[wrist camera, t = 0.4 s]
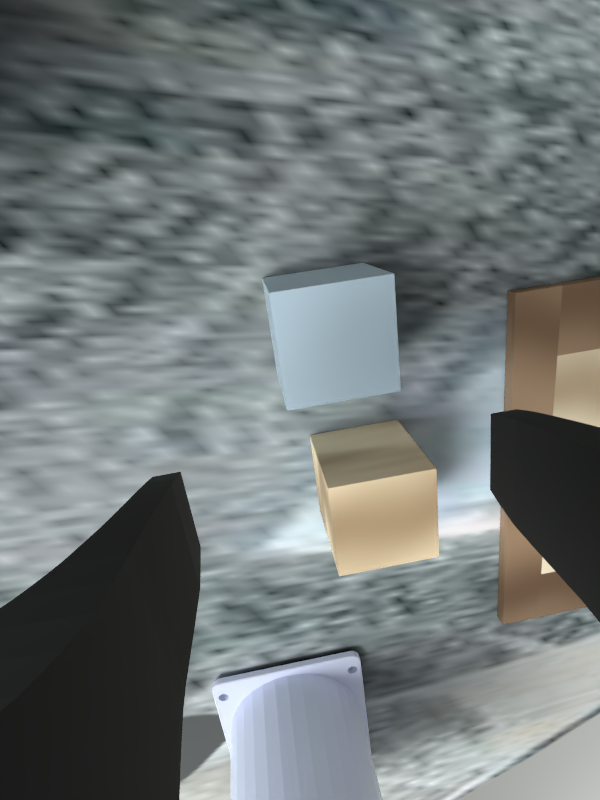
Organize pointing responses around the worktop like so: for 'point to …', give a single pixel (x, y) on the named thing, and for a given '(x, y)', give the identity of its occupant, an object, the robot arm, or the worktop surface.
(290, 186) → the worktop surface
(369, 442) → the tan wooden cube
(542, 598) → the board
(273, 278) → the slate grey cube
